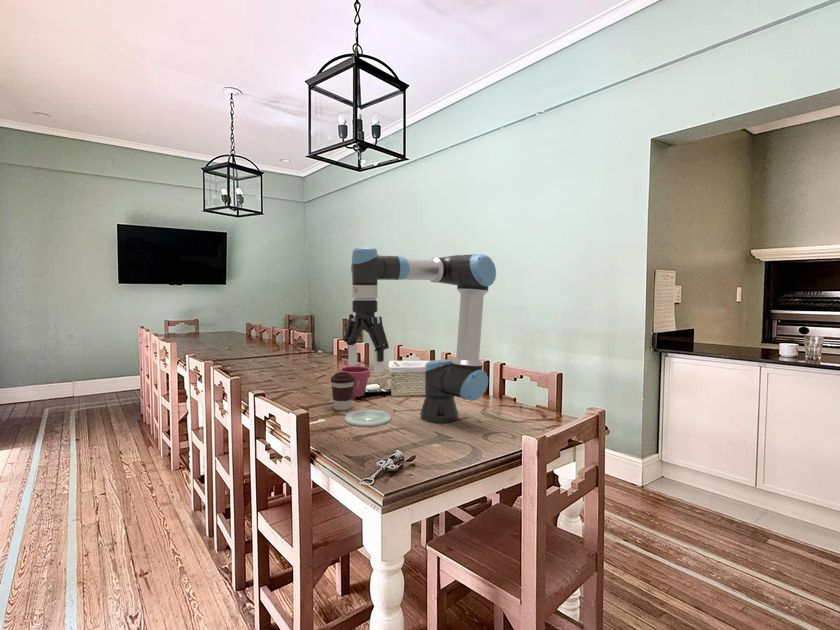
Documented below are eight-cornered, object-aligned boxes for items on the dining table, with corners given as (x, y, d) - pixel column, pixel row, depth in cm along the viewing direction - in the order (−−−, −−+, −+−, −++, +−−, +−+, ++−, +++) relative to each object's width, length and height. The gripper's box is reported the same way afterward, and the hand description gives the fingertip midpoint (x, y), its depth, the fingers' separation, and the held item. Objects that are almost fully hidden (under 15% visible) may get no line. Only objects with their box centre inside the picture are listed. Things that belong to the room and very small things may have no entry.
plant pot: (371, 398, 205) (372, 371, 204) (341, 400, 202) (341, 372, 201) (367, 391, 219) (367, 365, 218) (338, 392, 215) (338, 366, 215)
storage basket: (388, 397, 209) (388, 366, 208) (388, 388, 225) (388, 360, 224) (438, 397, 210) (439, 366, 209) (435, 388, 227) (435, 360, 225)
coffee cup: (356, 405, 194) (356, 371, 192) (351, 412, 184) (351, 376, 183) (334, 404, 195) (334, 370, 193) (327, 411, 185) (327, 375, 184)
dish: (370, 409, 188) (370, 406, 187) (400, 419, 175) (400, 416, 175) (335, 419, 174) (335, 415, 174) (365, 430, 162) (365, 426, 162)
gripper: (332, 298, 141) (333, 364, 143) (379, 301, 123) (379, 377, 125) (352, 297, 146) (352, 361, 148) (400, 300, 128) (400, 373, 130)
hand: (365, 368), depth 136 cm, fingers open, 13 cm apart
